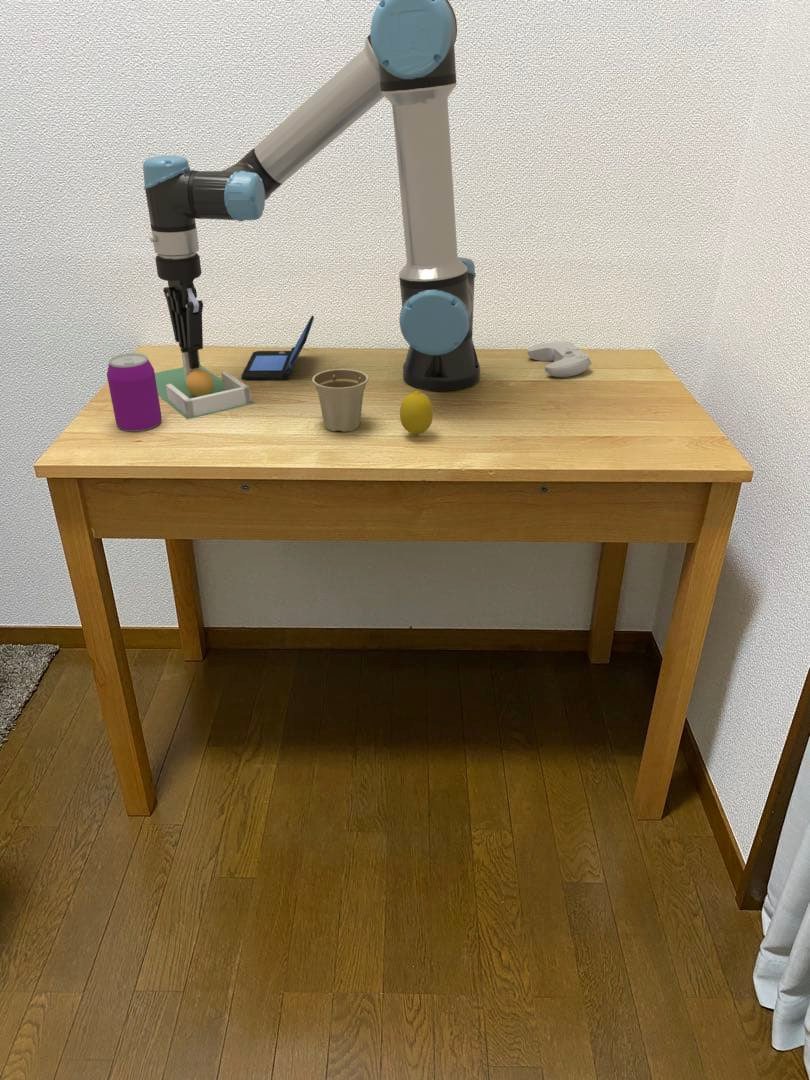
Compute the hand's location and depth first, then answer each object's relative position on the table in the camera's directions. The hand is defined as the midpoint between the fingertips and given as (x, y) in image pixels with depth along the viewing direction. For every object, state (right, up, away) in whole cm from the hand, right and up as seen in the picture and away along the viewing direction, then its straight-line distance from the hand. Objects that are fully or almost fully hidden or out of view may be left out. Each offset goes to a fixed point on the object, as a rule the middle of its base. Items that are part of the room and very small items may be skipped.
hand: (194, 382), depth 160 cm
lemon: (+42, -12, -16) cm, 46 cm away
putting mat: (0, -1, +2) cm, 2 cm away
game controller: (+71, +5, +13) cm, 73 cm away
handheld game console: (+14, +5, +13) cm, 20 cm away
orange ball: (+2, -1, -3) cm, 3 cm away
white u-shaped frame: (+3, -4, -3) cm, 6 cm away
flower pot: (+29, -10, -12) cm, 33 cm away
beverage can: (-6, -10, -12) cm, 17 cm away
